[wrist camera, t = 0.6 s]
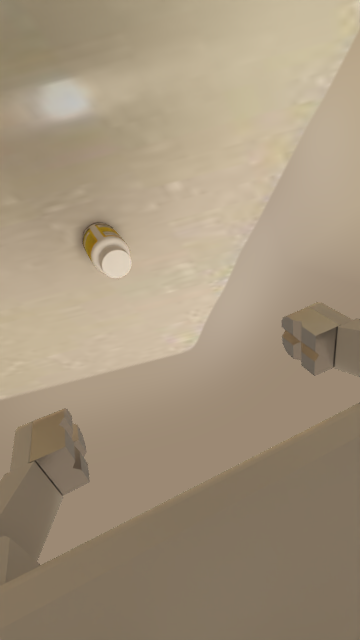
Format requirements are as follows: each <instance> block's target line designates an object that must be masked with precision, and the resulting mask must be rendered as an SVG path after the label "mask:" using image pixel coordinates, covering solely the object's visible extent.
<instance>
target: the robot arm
mask: <svg viewBox="0 0 360 640" xmlns="http://www.w3.org/2000/svg"><path fill="white" fill-rule="evenodd" d="M282 327H283V328H284V329H285V332H284V334H283V336H282V341H283V345H284V348H285V350H286V351H287V353H288V354H289V355H290V356H291V357H292V358H293V359H298V360H301V364H302V366H303V367H304V368H305V369H307V370H308V371H309V372H310V373H311V374H313V375H314V376H316V375H318V374H320V373H322V372H325V371H327V370H329V369H332V368H334V367H335V369H338V370H341V371H344V372H347V373H350V374H353V375H355V376H359V377H360V319H355V320H353V319H351V318H348V317H347V316H345V315H343V314H341V313H340V312H338V311H336V310H334V309H332V308H330V307H328V306H326V305H325V304H323V303H319V302H317V303H314V304H312V305H310V306H308V307H306V308H304V309H301V310H299V311H297V312H294V313H292V314H290V315H288V316H285V317H283V319H282ZM85 454H86V446H85V442H84V439H83V435H82V433H81V431H80V429H79V427H78V425H76V424H73V423H72V416H71V414H70V412H69V411H68V409H62V410H59V411H57V412H54V413H52V414H49V415H47V416H44V417H42V418H39V419H37V420H34V421H32V422H30V423H27V424H25V425H22V426H20V427H18V428H17V429H16V431H15V437H14V445H13V452H12V460H11V467H10V472H9V473H7V474H5V475H4V476H3V478H2V479H1V480H0V640H360V403H358V404H356V405H354V406H352V407H350V408H348V409H346V410H344V411H342V412H340V413H338V414H336V415H334V416H333V417H330V418H328V419H326V420H324V421H322V422H320V423H319V424H317V425H315V426H313V427H311V428H309V429H307V430H305V431H303V432H301V433H299V434H297V435H295V436H293V437H291V438H289V439H287V440H285V441H283V442H281V443H279V444H277V445H275V446H274V447H272V448H270V449H268V450H266V451H264V452H262V453H260V454H258V455H256V456H254V457H252V458H250V459H248V460H246V461H244V462H242V463H240V464H238V465H236V466H234V467H232V468H230V469H228V470H226V471H224V472H222V473H221V474H219V475H217V476H215V477H213V478H211V479H209V480H207V481H205V482H203V483H201V484H199V485H197V486H195V487H193V488H191V489H189V490H187V491H185V492H183V493H181V494H179V495H177V496H175V497H174V498H172V499H169V500H168V501H166V502H164V503H162V504H160V505H158V506H156V507H154V508H152V509H150V510H148V511H146V512H144V513H142V514H140V515H138V516H136V517H134V518H132V519H130V520H128V521H126V522H124V523H122V524H120V525H119V526H117V527H115V528H113V529H111V530H109V531H107V532H105V533H103V534H101V535H99V536H97V537H95V538H93V539H91V540H89V541H87V542H85V543H83V544H81V545H79V546H77V547H75V548H74V549H71V550H70V551H68V552H66V553H64V554H62V555H60V556H58V557H56V558H54V559H52V560H50V561H48V562H46V563H44V564H42V565H40V564H39V563H38V562H37V560H38V558H39V555H40V553H41V551H42V548H43V546H44V543H45V541H46V538H47V535H48V533H49V531H50V529H51V526H52V523H53V521H54V519H55V516H56V514H57V511H58V509H59V506H60V504H61V502H62V499H63V495H65V494H67V493H69V492H71V491H73V490H75V489H77V488H79V487H81V486H83V485H85V484H87V483H89V471H88V464H87V462H86V460H85V459H84V455H85Z"/></svg>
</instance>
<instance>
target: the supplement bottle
mask: <svg viewBox="0 0 360 640" xmlns="http://www.w3.org/2000/svg"><path fill="white" fill-rule="evenodd" d="M83 246H84V248H85V250H86V252H87V254H88V256H89V258H90V259H91V261H92V263H93V265H94V266H95V267H96V269H97V270H98V271H100V272H102V273H104V274H106V275H107V276H109V277H111V278H121V277H123V276H125V275H126V274H127V273H128V272H129V271H130V269H131V265H132V261H131V258H130V250H129V247H128V245H127V244H126V243H125V241H124V240H123V239H122V238H121V237H120V236H119V234H118V233H117V232H116V231H115V230H114V229H113V228H112V227H111V226H109V225H107V224H104V223H96V224H93V225H91V226H89V227H88V228H87V229H86V231H85V232H84V234H83Z"/></svg>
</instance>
